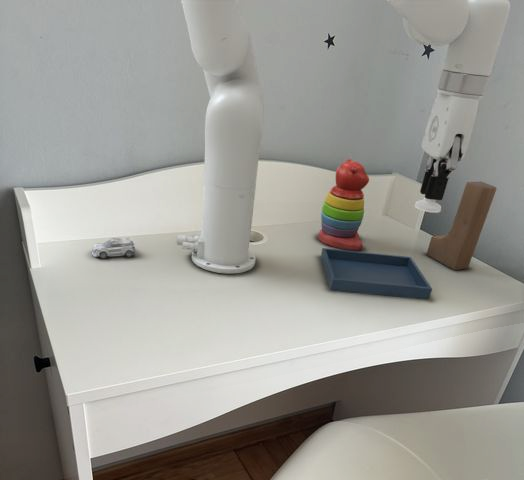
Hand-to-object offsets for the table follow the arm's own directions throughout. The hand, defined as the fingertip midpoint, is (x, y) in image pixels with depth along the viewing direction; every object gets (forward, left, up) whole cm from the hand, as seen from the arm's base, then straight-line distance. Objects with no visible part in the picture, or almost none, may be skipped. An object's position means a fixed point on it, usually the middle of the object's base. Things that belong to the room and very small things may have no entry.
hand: (430, 195), depth 95 cm
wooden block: (+13, +13, -18) cm, 26 cm away
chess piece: (0, 0, -3) cm, 3 cm away
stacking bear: (-11, +19, -18) cm, 28 cm away
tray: (-7, 0, -17) cm, 19 cm away
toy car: (-58, -1, -18) cm, 61 cm away
